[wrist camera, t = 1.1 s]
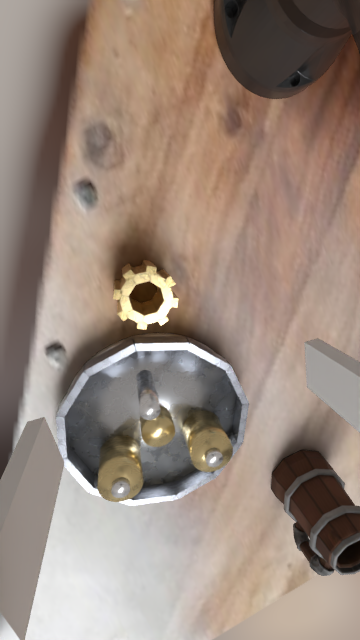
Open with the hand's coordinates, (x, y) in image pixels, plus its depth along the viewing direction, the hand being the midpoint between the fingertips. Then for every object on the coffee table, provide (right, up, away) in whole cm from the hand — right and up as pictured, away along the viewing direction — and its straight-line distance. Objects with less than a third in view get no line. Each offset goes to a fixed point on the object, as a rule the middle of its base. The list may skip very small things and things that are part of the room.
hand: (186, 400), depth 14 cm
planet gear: (-5, +8, +25) cm, 26 cm away
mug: (+22, -28, +43) cm, 55 cm away
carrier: (-4, -11, +31) cm, 33 cm away
